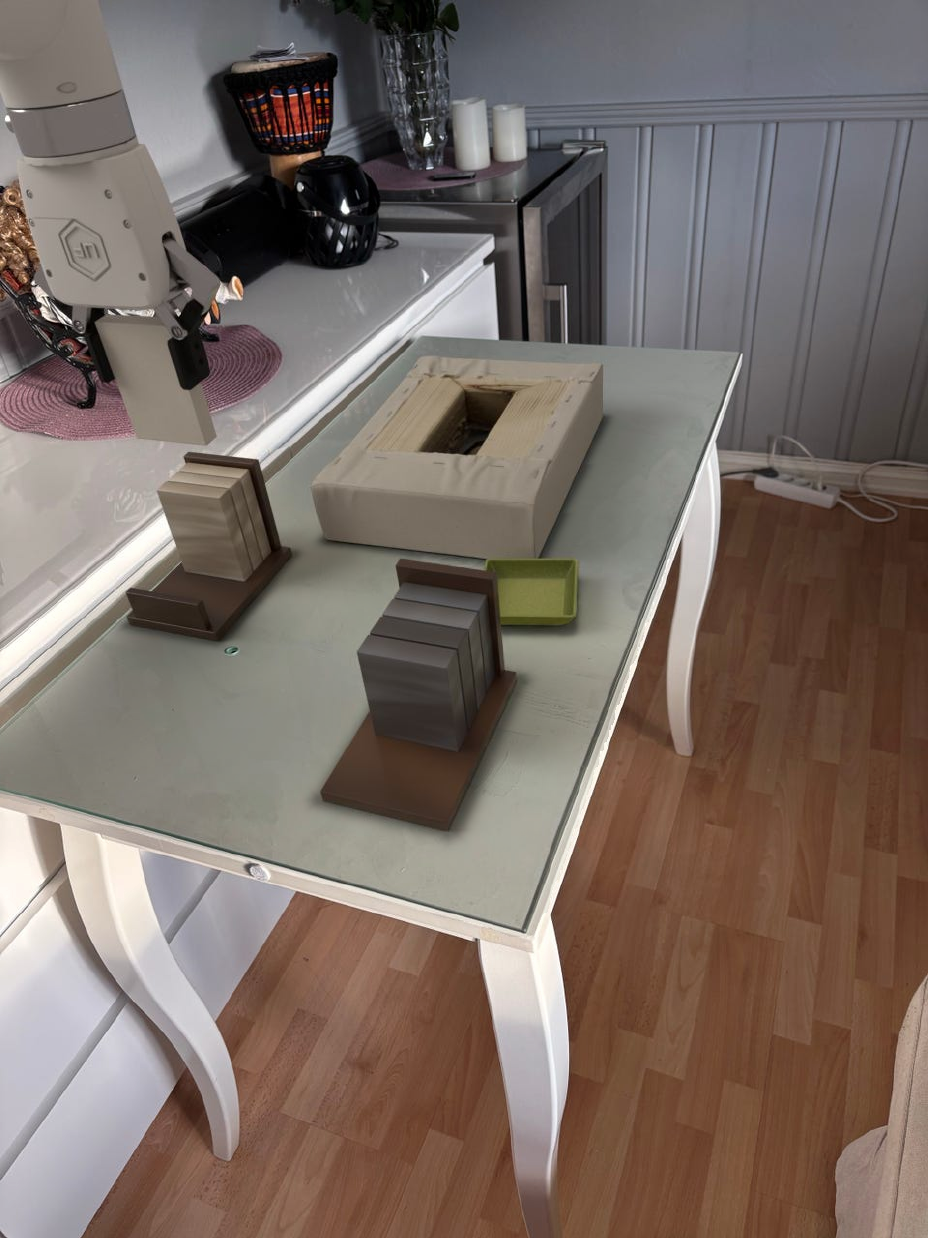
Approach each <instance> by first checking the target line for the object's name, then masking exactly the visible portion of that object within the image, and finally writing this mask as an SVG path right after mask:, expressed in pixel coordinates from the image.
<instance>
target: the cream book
mask: <svg viewBox="0 0 928 1238" xmlns="http://www.w3.org/2000/svg"><path fill="white" fill-rule="evenodd" d="M95 325H96V328H97V330H98V333H99V335H100V338H101V341H102V344H103V346H104V349H105V352H106V355H107V357H108V360H109V363H110V366H111V368H112V371H113V374H114V377H115V379H114V380H115V382H116V385H117V387H118V391H119V393H120V396H121V399H122V401H123V404H124V406H125V407H124V408H125V410H126V412H127V416H128V418H129V421H130V423H131V426H132V429H133V432H134V434H135V436H136V437H135V438H136V439H139V440H146V441H147V440H148V441H149V440H150V441H158V442H167V443H176V444H184V445H185V444H186V445H194V446H195V445H196V446H205V447H207V446H209V444H210V443H211V442H213V441H214V440H215V439H216V438H217V437H218V435H217V433H216V432H217V431H216V429H215V425H214V423H213V419H212V416H211V412H210V409H209V406H208V403H207V402H208V401H207V399H206V396H205V393H204V389H203V386H202V382H200V383H199V384H198V385H197V386H195V387H194V388H193V389H191V390H183V389H182V388H181V387H180V384H179V381H178V378H177V374H176V371H175V368H174V365H173V361H172V358H171V355H170V352H169V348H168V345H167V343H168V342H167V341H168V340H169V339H171V338H172V337H173V336H172V335H171V334H170V332H169V331H168V329H167V328H166V327H165V325H164V324H163V322H162V321H161V320H160V318H159V317H158V316H147V315H129V314H128V315H127V314H109V313H108V314H107V315H105V316H104V317H102V318H100V319H99V320H97V321H96V322H95Z"/></svg>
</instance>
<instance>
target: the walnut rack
mask: <svg viewBox="0 0 928 1238" xmlns="http://www.w3.org/2000/svg"><path fill="white" fill-rule="evenodd" d="M395 570H396V577H397V582H398V587H399V588H398V590H397V591H396V593H395V594H394V596H393V598H392V599H391V600H390V602H389V603H388V604H387V606H386V607H385V609H384V610H383V612H382V614H381V616H379V617H378V620H377V621H376V623H375V624H374V625H373V627H372V629H371V630H370V632H369V634H367V636H366V637H365V639H364V640H363V642H362V643H361V644H360V646H359V648H358V649H357V651H356V656H357V660H358V664H359V669H360V673H361V678H362V682H363V686H364V692H365V696H366V701H367V705H368V710H369V711H368V713H367V715H366V716H365V718H364V720H363V721H362V722H361V724H360V726H359V728H358V729H357V731H356V732H355V734H354V736H353V737H352V739H351V740H350V742H349V744H348V745H347V747H346V748H345V750H344V752H343V753H342V755H341V757H340V758H339V760H338V762H337V763H336V765H335V766H334V768H333V770H332V771H331V773H330V774H329V776H328V778H327V780H326V781H325V782H324V784H323V786H322V788H321V789H320V791H319V793H320V796H321V801H325V802H328V803H333V804H337V805H340V806H345V807H348V808H352V809H357V810H361V811H365V812H369V813H373V814H378V815H380V816H386V817H390V818H394V819H398V820H401V821H406V822H409V823H414V824H418V825H422V826H426V827H429V828H433V829H438V830H441V831H446V832H448V831H449V829H450V827H451V825H452V822H453V820H454V818H455V816H456V814H457V811H458V810H459V807H460V805H461V803H462V801H463V799H464V797H465V794H466V792H467V790H468V788H469V785H470V783H471V781H472V780H473V777H474V775H475V773H476V770H477V769H478V766H479V764H480V762H481V759H482V757H483V755H484V753H485V751H486V749H487V747H488V745H489V743H490V741H491V738H492V736H493V734H494V731H495V729H496V727H497V725H498V723H499V721H500V719H501V716H502V714H503V712H504V710H505V708H506V706H507V703H508V701H509V700H510V697H511V695H512V693H513V690H514V688H515V686H516V685H517V682H518V676H517V674H518V673H517V672H516V671H512V670H508V669H506V666H505V655H504V645H503V633H502V632H503V631H502V625H501V619H500V608H499V596H498V585H497V573H496V572H492V571H485V570H484V569H479V568H478V569H477V568H470V567H464V566H457V565H450V564H442V563H437V562H429V561H421V560H414V559H407V558H399V560H398V561H397V562H396V564H395Z"/></svg>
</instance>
